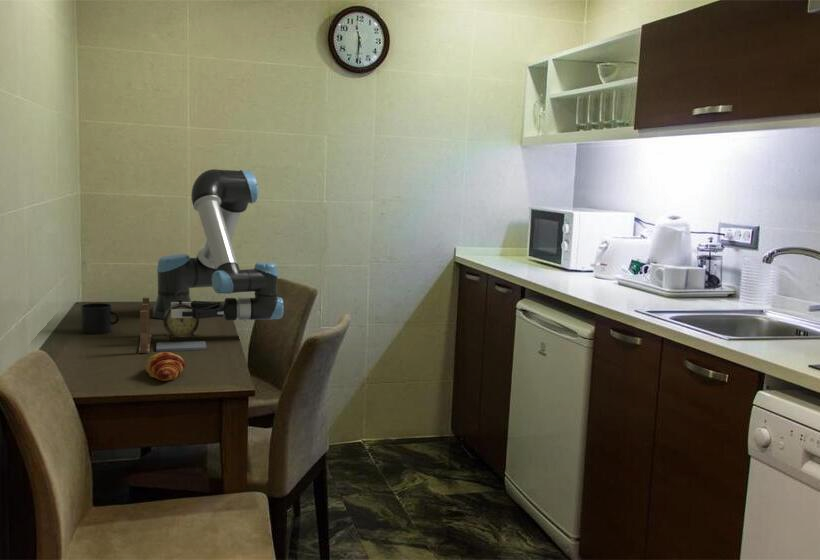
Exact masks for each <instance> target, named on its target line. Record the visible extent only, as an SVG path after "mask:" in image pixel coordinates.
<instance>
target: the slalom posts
mask: <svg viewBox="0 0 820 560" xmlns="http://www.w3.org/2000/svg"><path fill="white" fill-rule="evenodd" d="M139 320H140V321H139V326H140V329H139V331H140V332H139V333H140V335H139V336H140V337H139V338H140V339H139V341H140V342H139V348H138V354H139V353H149V354H150V351H151V349H150V348H151V343H152V342H151V339H152V333H150V332H151V331H150V297H143V298H142V303H141V310H139Z"/></svg>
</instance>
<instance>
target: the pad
mask: <svg viewBox="0 0 820 560" xmlns="http://www.w3.org/2000/svg"><path fill="white" fill-rule="evenodd" d="M207 349H208V348H207V343H206V341H205V340H202V341H201V340H200V341H170V342H169V341H165V342H164V341H163V342H156V349H155V350H156V352H178V351H179V352H184V351H185V352H186V351H187V352H188V351H207Z"/></svg>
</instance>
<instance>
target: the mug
mask: <svg viewBox="0 0 820 560" xmlns="http://www.w3.org/2000/svg"><path fill="white" fill-rule="evenodd" d="M80 307H81V308H80V313H81V316H80V317H81V318H80V319H81V332H82V333H83V334H87V335H102V334H103V333H104V334H108V333H110V332H112V330H113V329H112V326H113V325H116V324H118V322H119V321H120V315H119V314H118V313H117V312H116V311H114V310H112V305H111V304H109V303H102V302H100V303H99V302H97V303H95V302H93V303H85V304H82V305H80ZM112 315H114V316H115V317H116V319H115V320H114V321H112Z"/></svg>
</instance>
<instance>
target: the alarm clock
mask: <svg viewBox="0 0 820 560" xmlns="http://www.w3.org/2000/svg"><path fill="white" fill-rule="evenodd" d="M179 292H182V291H179ZM179 292H177V293H179ZM177 293H176V295H177ZM182 293H184V292H182ZM176 295H175V298H176ZM184 295H185V293H184ZM185 297H186V295H185ZM185 297H184V299H185ZM176 299H177V298H176ZM184 299H183V300H184ZM177 300H178V299H177ZM183 300H181V299H180V300H178V301H179V304H175V305H173V306H171V307H170V308H169V309H168V310H167V311H166V312H165V314H164V318H163V319H162V323H163V328H164V329H165V330H166V331H167V332H168V334H170V335H169V336H168V339H167V342H169V341H170V340H171V339H172V337H175V338H180V339H184V338H188V337H189V336H191V337H192V338H193V339H194V340H196V338H197V337H196V336H195V334H194V333H195V332H196V331H197V329H198V327H199V323H200V319H195V318H193V317H192V318H171V309H192V312H193V308H192V307H190V306H188V305H186V304H182V301H183Z"/></svg>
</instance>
